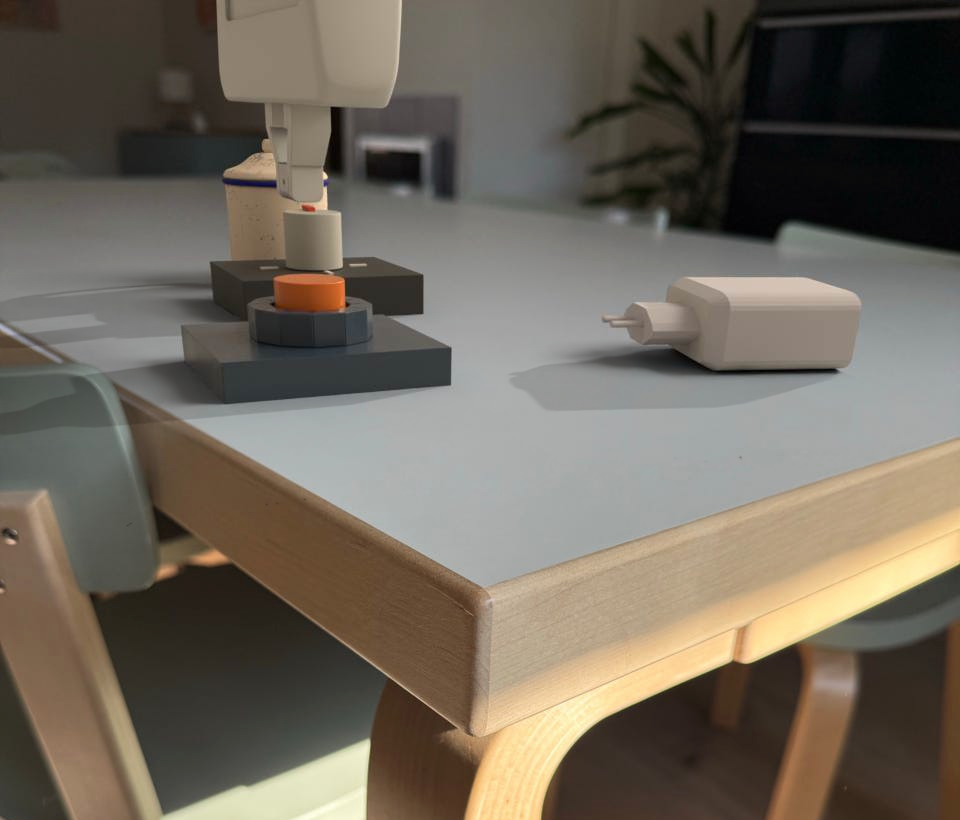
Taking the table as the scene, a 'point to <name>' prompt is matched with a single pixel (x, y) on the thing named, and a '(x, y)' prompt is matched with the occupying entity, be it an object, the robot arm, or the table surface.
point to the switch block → (312, 353)
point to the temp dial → (313, 239)
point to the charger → (750, 322)
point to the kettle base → (363, 275)
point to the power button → (309, 292)
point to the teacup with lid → (259, 208)
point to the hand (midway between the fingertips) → (300, 200)
